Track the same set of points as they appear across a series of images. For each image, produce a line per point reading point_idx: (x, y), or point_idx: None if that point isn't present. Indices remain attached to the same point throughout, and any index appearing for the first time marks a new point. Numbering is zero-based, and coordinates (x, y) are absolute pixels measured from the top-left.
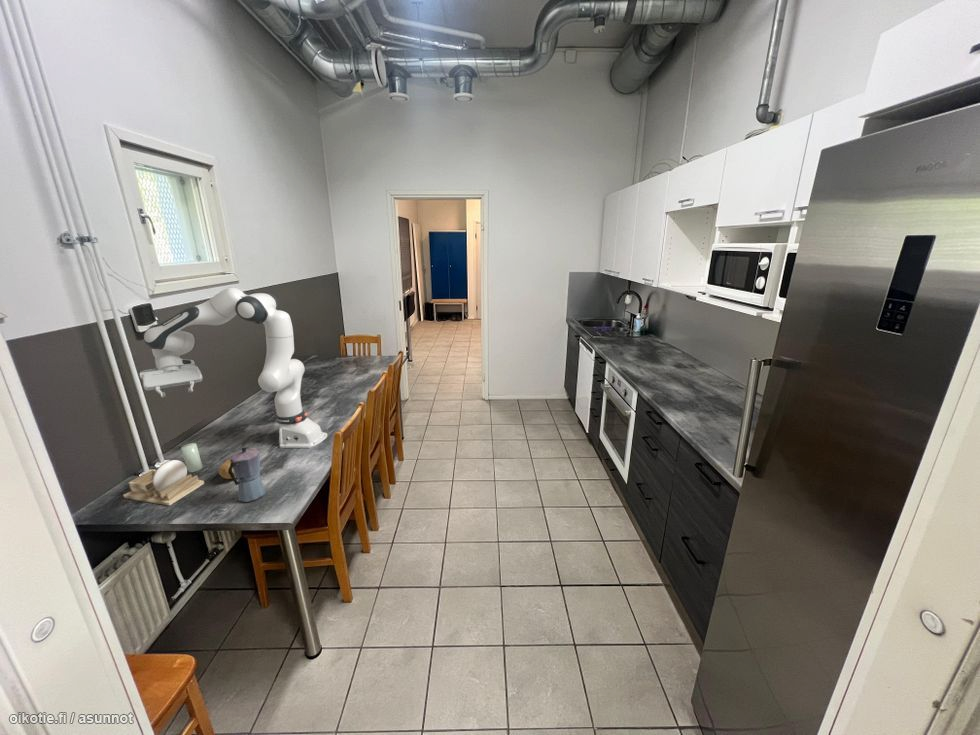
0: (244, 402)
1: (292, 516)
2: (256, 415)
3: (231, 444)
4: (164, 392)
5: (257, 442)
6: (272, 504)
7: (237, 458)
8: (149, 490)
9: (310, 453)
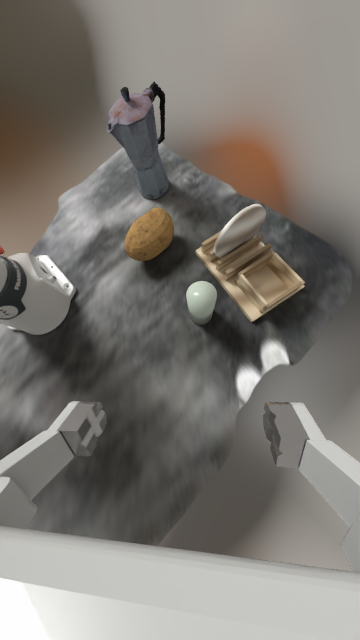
0: None
1: None
2: None
3: (129, 374)
4: (281, 427)
5: (92, 343)
6: None
7: (143, 96)
8: (267, 244)
9: (58, 241)
